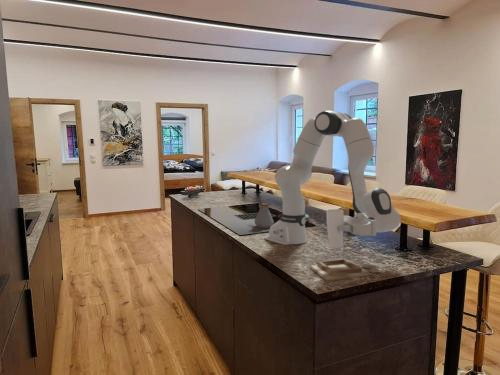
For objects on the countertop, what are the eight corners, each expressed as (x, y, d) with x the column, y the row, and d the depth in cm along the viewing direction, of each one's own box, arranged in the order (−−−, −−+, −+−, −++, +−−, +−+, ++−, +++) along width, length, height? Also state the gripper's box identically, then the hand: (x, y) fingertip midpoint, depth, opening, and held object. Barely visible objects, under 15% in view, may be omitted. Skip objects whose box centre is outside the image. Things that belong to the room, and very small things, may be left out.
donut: (288, 219, 235) (288, 213, 234) (307, 218, 236) (307, 212, 235) (292, 223, 223) (292, 217, 222) (311, 223, 224) (311, 216, 223)
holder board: (310, 268, 147) (310, 261, 147) (349, 263, 152) (349, 256, 152) (327, 280, 134) (327, 273, 134) (369, 275, 139) (369, 268, 139)
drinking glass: (325, 249, 144) (324, 211, 142) (328, 244, 150) (327, 208, 149) (343, 250, 141) (342, 212, 140) (345, 245, 148) (344, 209, 146)
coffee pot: (275, 228, 211) (275, 203, 209) (256, 229, 209) (256, 204, 207) (268, 220, 232) (268, 197, 229) (250, 221, 230) (250, 197, 228)
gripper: (349, 211, 158) (321, 213, 154) (379, 221, 138) (347, 224, 135) (349, 225, 159) (321, 228, 155) (378, 237, 139) (346, 240, 135)
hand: (333, 226), depth 145 cm, fingers closed on drinking glass, 6 cm apart
